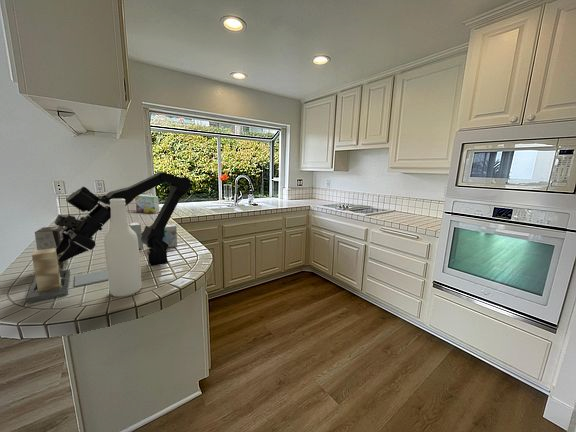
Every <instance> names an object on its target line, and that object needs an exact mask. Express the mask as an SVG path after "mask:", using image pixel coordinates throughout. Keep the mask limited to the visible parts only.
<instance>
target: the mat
mask: <svg viewBox="0 0 576 432" xmlns="http://www.w3.org/2000/svg"><path fill="white" fill-rule="evenodd" d="M105 281H106V282H107V281H108V273H107V269H105V270H104V269H103V270H98V271H94V272H87V273H83V274H81V273H80V274H77V275H76V274H75V275H74V288H77V287H82V286H86V285H91V284H96V283H100V282H105Z"/></svg>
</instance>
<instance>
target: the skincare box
mask: <svg viewBox="0 0 576 432" xmlns="http://www.w3.org/2000/svg"><path fill="white" fill-rule="evenodd" d="M129 226H130V228H131V229H132V230H133V231H134V232H135V233H136V235H137V237H138V247H139V249H140V250H141V249H144V243H143V242H142V240H141V237H142V235H141V233H143V231H142V224H140V223H138V222H132V223H129Z"/></svg>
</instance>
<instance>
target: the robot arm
mask: <svg viewBox="0 0 576 432" xmlns="http://www.w3.org/2000/svg"><path fill="white" fill-rule="evenodd" d="M161 184H166V185H169V192H168V193H169V194H168V195H167V197H166V199H165V201H164V203H163V204H162V206H161V208H160V209H159V213H157V216H156V217H155V220H154V221H153V223H152V224H151V225H150V226H148V225H146V226H145V227H144V229H143V231H142V233H141V235H142V237H141V240H142V242H143V245H146V247H147V248H148V252H147V253H146V254H147V263H148V264H149V265H150V266H151V267H155V266H159V265H165V264H168V263H169V261H168V253H167V252H168V248H169V247H168V246H169V245H168V244H167V243H166V242H164V241H163V238H164V229H165V226H166V225H167V224H169V221H170V219H171V217H172V215H173V213H174V211H175V209H176V208H177V205H178V203H179V202H180V200H181V198H182V197H184V196H185V195H186V194H188V192H189V190H190V189H191V187H192V182H191V180H190V178H188V177H186V176H176V175H173V174H170V173H167V172H166V171H165V172H164V171H163V172H162V171H157V172H156V173H155V174H153V175H151V176H149V177H147V178H145V179H142V180H141V181H139V182H137V183H134V184H133V185H130V186H128V187H123V188H118V189H115V190H112V191H109V192H108V193H106V194H103V195H98V196H97V195H96V194H95V193H93V192H92V191H91V190H89V188H87V187H85V186H82V187H81V188H79V189H77V190H75V192H71V194H70V195H69V196H68V197H67V198H66V199H65V201H66V202H67V203H68V204H69V205H71V206H73V207H74V208H76V209H77V210H79V211H81V212H82V213H84V212H87V213H88V212H89V213H88V214H87V215H86V216H81V217H80V218H76V216H75V215H69V214H67V215H63V214H58V215H57V217H56V218H55V221H54V224H55V226H63V227H64V228H63V229H62V230H63V231H64V232H62V237H63V238H62V240H61V242H60V244H59V245H58V247H57V248H56V252H57V255H58V254H60V253H62V252H64V253H63V254H62V255H61V257H60V258H59V259H58V261H59V262H63V261H65V260H68V261H69V260H70V259H71V258H74V257H75V256H78V255H80V254H83V253H86V252H89V250H90V251H92V250H93V249H94V248H95V247H96V245H97V244H96V241H95V240H93V239H94V235H95V234H96V233H98V231H103V226H104V225H105V224H106V223H108V221H110V220H111V206H110V201H109V200H111V199H125V203H126V205H125V207H126V206H127V205H128V204H130V203H132V202H133V201H134V200H135V197H137V196H138V195H143V194H144V193H146V192H148V191H149V190H152V189H155V187H158V186H159V185H161ZM101 203H102V204H104V205H105V206H103V205H102V204H101Z"/></svg>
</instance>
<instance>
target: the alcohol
mask: <svg viewBox="0 0 576 432" xmlns="http://www.w3.org/2000/svg"><path fill="white" fill-rule="evenodd" d="M109 201H110V205H109V207H110V208H111V218H110V228H109V231H108V232H107V233H106V234H105V236H104V240H103V244H104V253H105V261H106V262H105V263H106V264H105V265H106V270H107V273H108V280H107V281H108V289H109V294H110V295H111V296H114V297H115V298H116V297H117V298H122V297H124V298H125V297H128V296H132V295H134V294H136V293H138V292H139V291H140V290H141V288H142V286H143V283H142V271H141V270H142V269H141V261H140V260H141V259H140V251H139V247H138V237H137V235H136V233H135V232H134V231H133V230H132V229H131V228H130V226H129V224H130V223H129V219H128V212H127V208H126V206H127V205H126V203H125V199H111V200H109ZM125 205H126V206H125Z"/></svg>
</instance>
